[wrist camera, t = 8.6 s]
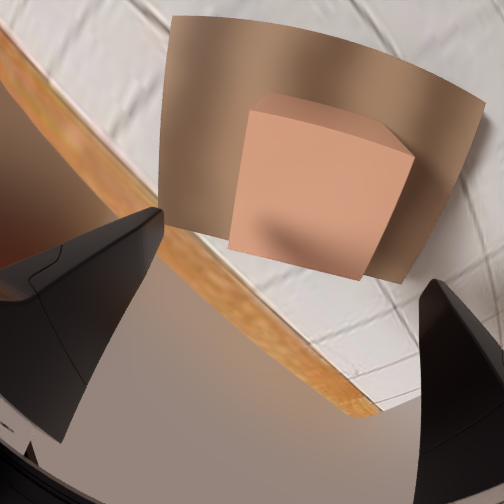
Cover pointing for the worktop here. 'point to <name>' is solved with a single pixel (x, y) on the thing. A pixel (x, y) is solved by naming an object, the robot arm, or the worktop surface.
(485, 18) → the worktop surface
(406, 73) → the walnut block
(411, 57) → the worktop surface
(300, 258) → the terracotta cube
